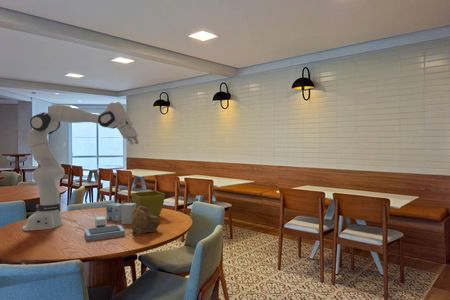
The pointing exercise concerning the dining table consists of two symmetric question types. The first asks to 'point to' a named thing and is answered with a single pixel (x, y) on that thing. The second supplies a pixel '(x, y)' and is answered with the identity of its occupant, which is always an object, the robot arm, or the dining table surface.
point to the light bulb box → (114, 211)
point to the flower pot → (149, 201)
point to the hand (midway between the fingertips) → (135, 143)
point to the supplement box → (127, 212)
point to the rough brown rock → (143, 221)
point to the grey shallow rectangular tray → (104, 232)
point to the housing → (100, 222)
